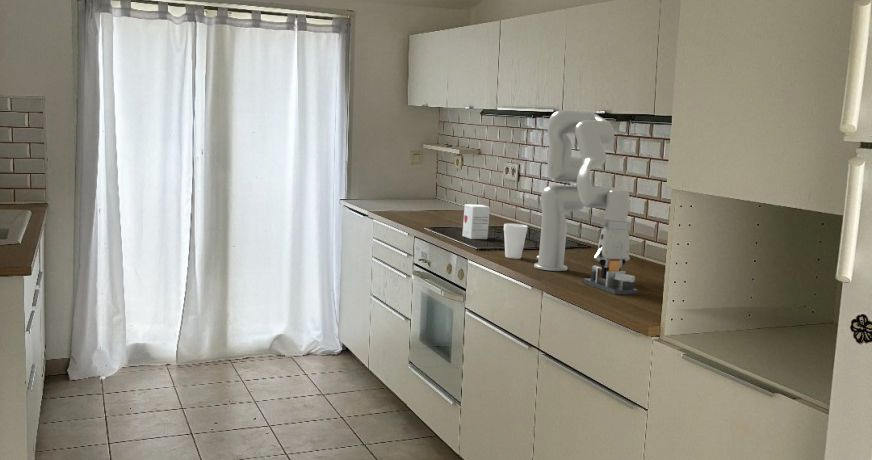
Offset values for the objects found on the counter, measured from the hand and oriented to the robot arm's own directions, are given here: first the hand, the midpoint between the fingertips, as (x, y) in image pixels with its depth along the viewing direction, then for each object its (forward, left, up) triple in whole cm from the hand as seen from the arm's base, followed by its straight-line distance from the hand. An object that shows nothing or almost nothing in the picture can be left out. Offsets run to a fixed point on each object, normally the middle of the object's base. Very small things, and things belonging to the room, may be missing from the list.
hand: (610, 278), depth 309 cm
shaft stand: (0, 0, -4) cm, 4 cm away
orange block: (0, 0, -1) cm, 1 cm away
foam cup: (-62, -5, -4) cm, 62 cm away
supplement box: (-114, +2, -4) cm, 114 cm away
